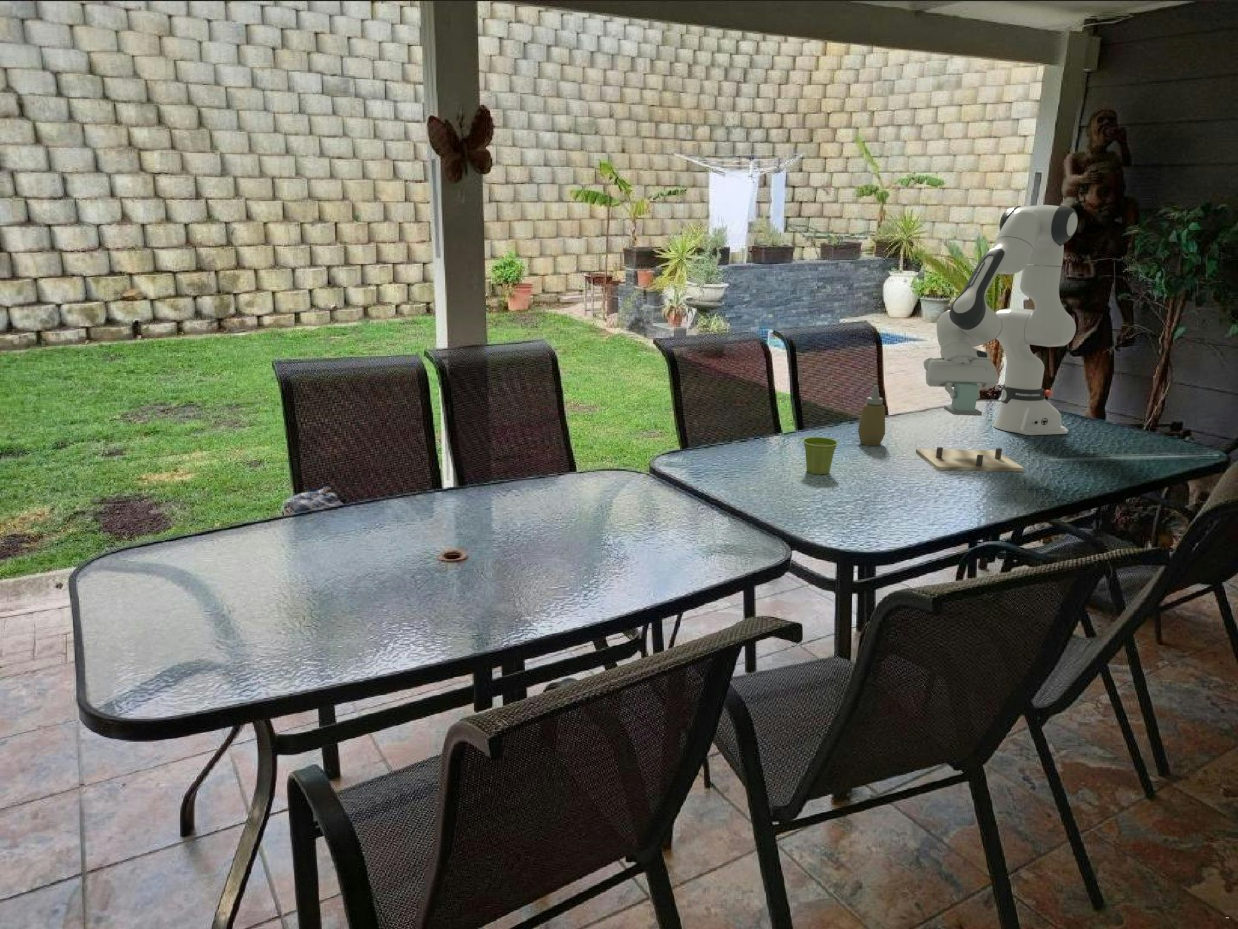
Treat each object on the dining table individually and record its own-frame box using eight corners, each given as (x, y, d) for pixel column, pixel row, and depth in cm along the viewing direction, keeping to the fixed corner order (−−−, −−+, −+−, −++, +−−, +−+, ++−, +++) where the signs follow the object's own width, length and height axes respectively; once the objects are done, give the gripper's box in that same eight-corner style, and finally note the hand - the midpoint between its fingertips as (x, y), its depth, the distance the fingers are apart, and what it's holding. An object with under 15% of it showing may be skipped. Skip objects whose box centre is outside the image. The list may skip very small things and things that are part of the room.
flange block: (970, 409, 255) (974, 382, 253) (981, 415, 247) (985, 388, 245) (943, 408, 255) (947, 382, 253) (953, 414, 247) (957, 387, 245)
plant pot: (795, 473, 234) (798, 442, 231) (805, 464, 242) (808, 435, 239) (830, 479, 230) (833, 447, 227) (839, 470, 238) (841, 439, 235)
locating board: (996, 453, 256) (997, 440, 255) (1023, 471, 239) (1025, 457, 238) (915, 452, 256) (917, 439, 255) (937, 470, 239) (939, 456, 238)
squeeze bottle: (887, 447, 261) (893, 389, 256) (860, 447, 261) (866, 388, 256) (879, 440, 269) (885, 383, 263) (853, 440, 269) (859, 383, 263)
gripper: (926, 351, 253) (933, 390, 247) (995, 353, 253) (1004, 392, 247) (919, 364, 259) (926, 402, 252) (987, 366, 259) (995, 404, 252)
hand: (965, 397), depth 249 cm, fingers closed on flange block, 5 cm apart
